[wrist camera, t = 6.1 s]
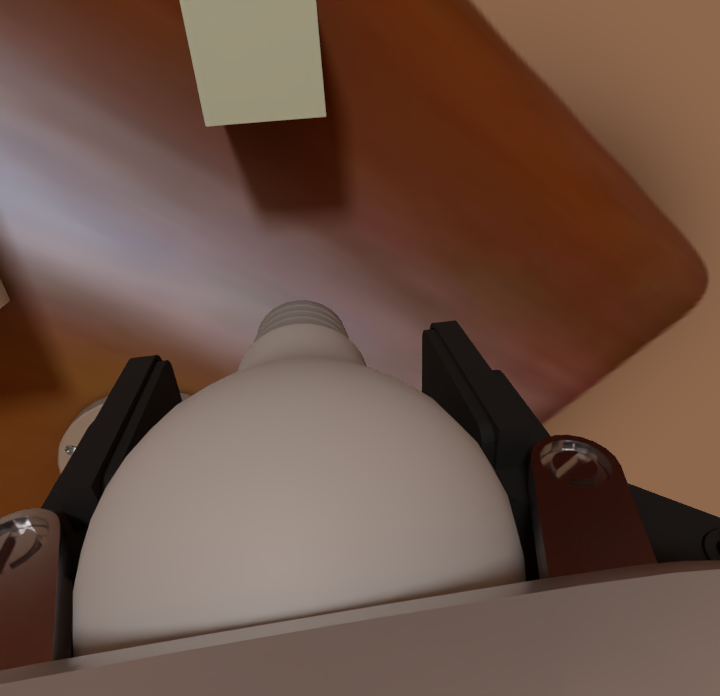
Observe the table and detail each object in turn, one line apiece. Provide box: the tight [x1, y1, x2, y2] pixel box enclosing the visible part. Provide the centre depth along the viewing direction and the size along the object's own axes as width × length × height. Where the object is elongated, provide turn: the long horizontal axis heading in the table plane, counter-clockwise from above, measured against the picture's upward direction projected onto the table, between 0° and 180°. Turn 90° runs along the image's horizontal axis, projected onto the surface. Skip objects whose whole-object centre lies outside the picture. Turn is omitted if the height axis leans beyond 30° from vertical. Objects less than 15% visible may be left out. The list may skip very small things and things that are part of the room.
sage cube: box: [180, 0, 326, 126], centre depth 21 cm, size 5×5×5 cm
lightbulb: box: [73, 301, 526, 657], centre depth 9 cm, size 6×6×11 cm
